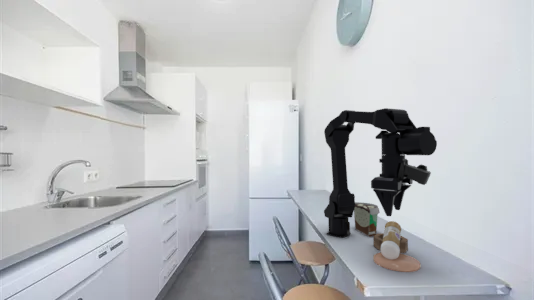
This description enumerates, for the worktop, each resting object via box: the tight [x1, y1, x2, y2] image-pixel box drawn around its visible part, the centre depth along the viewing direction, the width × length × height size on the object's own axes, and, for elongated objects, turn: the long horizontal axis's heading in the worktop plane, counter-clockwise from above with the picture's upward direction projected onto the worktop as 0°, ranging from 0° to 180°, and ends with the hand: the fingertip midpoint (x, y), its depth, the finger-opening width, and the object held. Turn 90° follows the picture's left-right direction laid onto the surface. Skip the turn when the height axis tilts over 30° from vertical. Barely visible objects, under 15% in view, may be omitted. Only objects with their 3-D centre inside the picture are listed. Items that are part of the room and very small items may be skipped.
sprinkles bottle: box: [379, 220, 402, 260], centre depth 72 cm, size 5×5×13 cm
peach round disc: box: [373, 251, 421, 273], centre depth 67 cm, size 11×11×1 cm
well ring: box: [372, 232, 409, 254], centre depth 78 cm, size 9×9×3 cm
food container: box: [353, 201, 380, 238], centre depth 94 cm, size 12×6×10 cm, turn 9°
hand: (393, 212), depth 69 cm, fingers open, 9 cm apart
